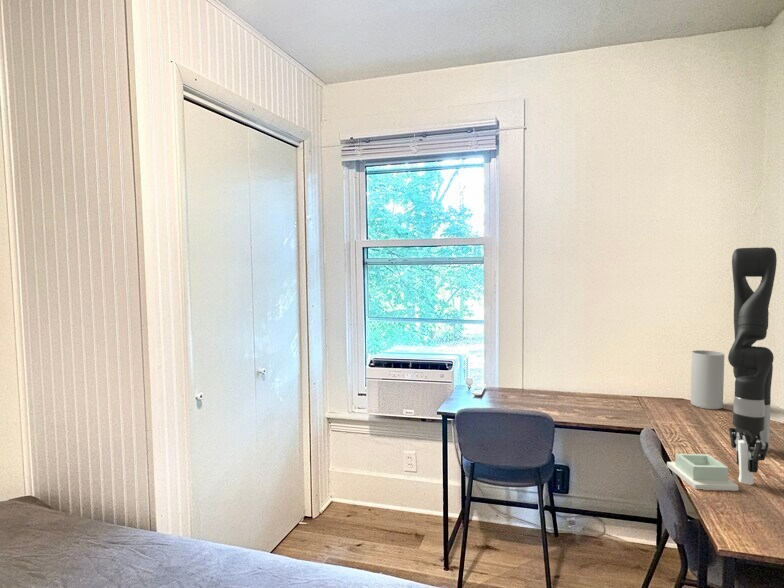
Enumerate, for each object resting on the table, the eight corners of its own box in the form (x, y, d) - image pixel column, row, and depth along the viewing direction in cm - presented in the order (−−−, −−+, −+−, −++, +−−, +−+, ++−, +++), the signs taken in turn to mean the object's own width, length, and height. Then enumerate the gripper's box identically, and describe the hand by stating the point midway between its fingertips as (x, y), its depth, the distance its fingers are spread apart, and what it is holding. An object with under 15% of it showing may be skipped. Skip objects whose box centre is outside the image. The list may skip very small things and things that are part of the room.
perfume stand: (666, 466, 151) (667, 449, 151) (705, 467, 150) (705, 450, 150) (695, 489, 135) (695, 471, 135) (738, 490, 135) (738, 472, 134)
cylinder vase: (687, 405, 216) (688, 352, 215) (694, 400, 225) (695, 349, 224) (719, 411, 207) (721, 356, 206) (725, 405, 216) (727, 352, 215)
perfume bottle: (756, 481, 140) (757, 432, 139) (754, 486, 137) (756, 436, 136) (737, 477, 143) (738, 429, 142) (735, 481, 140) (736, 433, 139)
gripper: (780, 420, 131) (777, 479, 132) (745, 405, 146) (743, 458, 146) (752, 419, 132) (750, 478, 133) (720, 405, 146) (718, 458, 147)
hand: (746, 467), depth 140 cm, fingers closed on perfume bottle, 4 cm apart
